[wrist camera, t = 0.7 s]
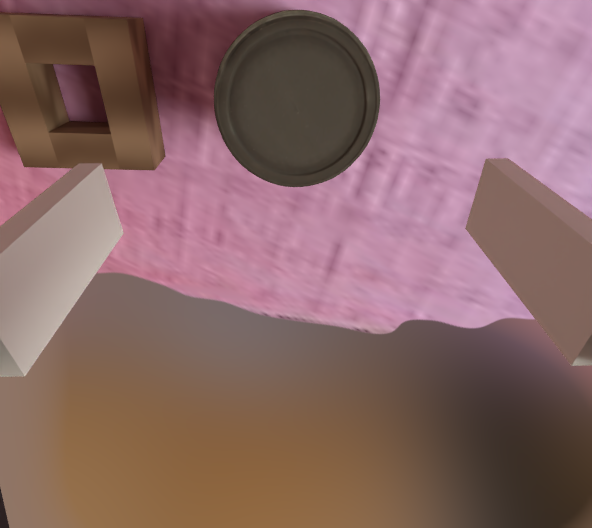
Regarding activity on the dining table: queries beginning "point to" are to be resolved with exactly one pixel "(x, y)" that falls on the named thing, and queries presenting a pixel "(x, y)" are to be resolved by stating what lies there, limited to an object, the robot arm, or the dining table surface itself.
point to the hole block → (48, 99)
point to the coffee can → (296, 98)
